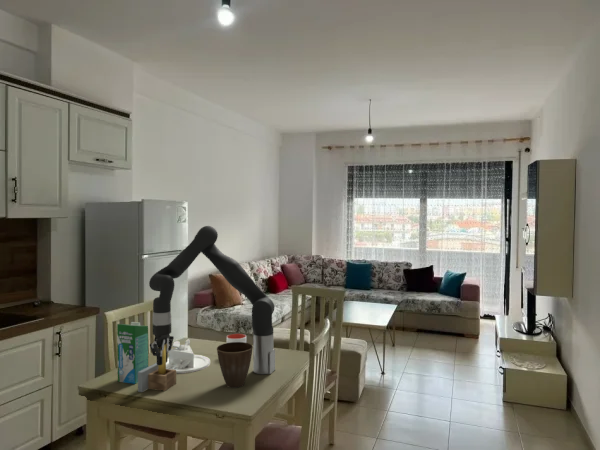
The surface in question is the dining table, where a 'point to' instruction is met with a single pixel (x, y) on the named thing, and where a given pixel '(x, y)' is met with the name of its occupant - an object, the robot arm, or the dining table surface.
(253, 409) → the dining table surface
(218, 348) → the plant pot
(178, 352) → the dish
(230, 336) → the cup
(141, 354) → the milk carton
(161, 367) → the dowel
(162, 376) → the brown wooden open box
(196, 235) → the robot arm
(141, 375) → the wall
